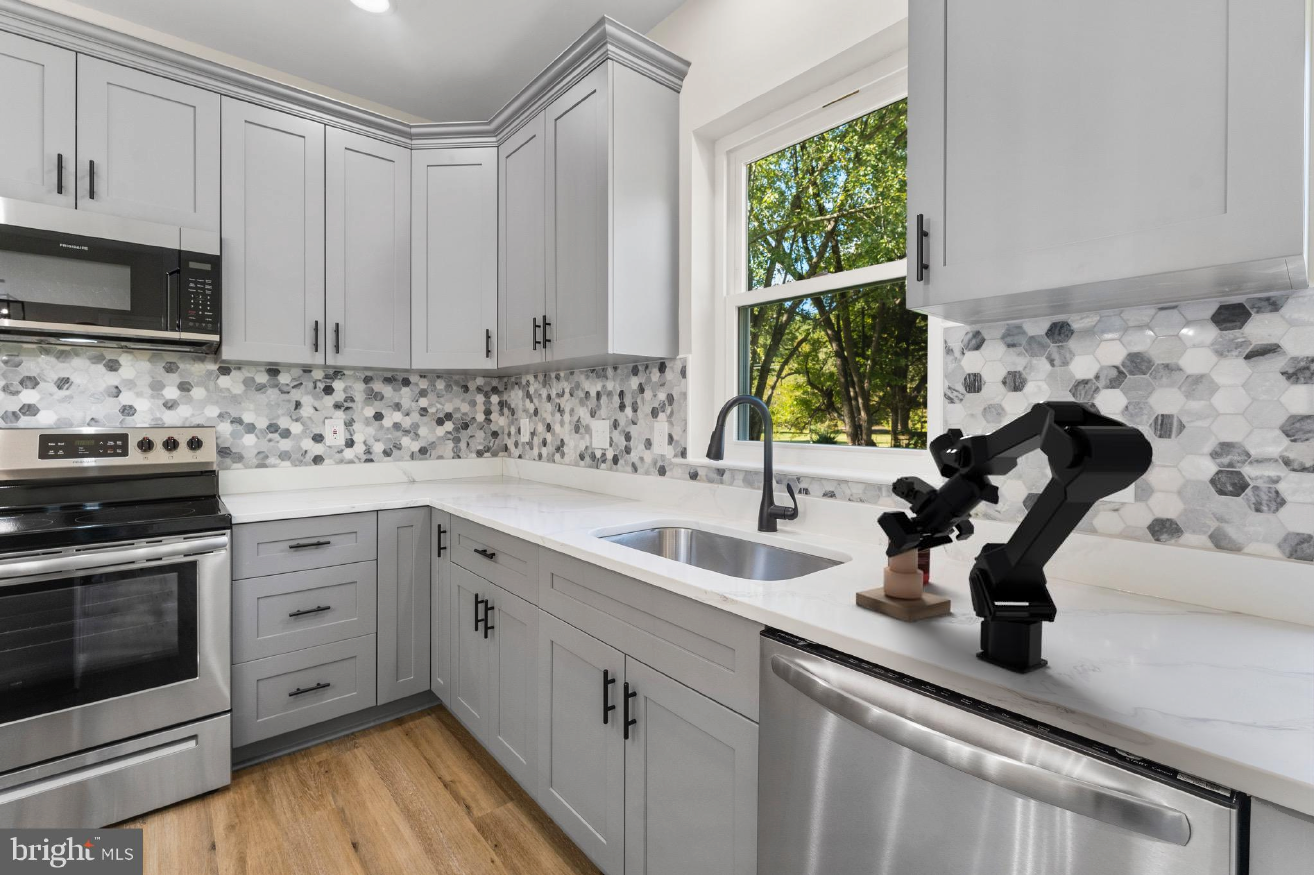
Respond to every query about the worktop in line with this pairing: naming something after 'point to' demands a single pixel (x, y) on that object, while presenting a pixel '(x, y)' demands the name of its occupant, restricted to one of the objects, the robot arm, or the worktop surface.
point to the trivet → (903, 604)
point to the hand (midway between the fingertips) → (896, 554)
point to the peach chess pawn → (903, 576)
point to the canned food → (922, 564)
